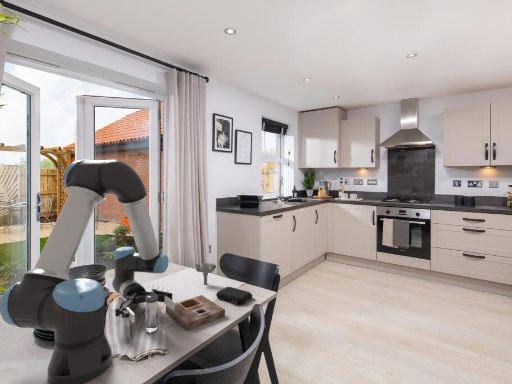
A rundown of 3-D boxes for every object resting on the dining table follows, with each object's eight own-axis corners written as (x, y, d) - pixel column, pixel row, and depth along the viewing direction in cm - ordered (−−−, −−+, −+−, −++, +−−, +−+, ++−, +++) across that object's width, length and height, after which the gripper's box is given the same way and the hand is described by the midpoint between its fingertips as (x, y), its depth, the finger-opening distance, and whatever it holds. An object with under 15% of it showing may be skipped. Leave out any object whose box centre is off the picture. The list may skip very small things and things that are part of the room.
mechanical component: (196, 281, 142) (196, 262, 142) (216, 283, 140) (216, 263, 140) (194, 284, 140) (194, 264, 139) (214, 286, 138) (214, 265, 137)
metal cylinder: (148, 334, 95) (147, 299, 95) (143, 329, 98) (143, 295, 98) (159, 330, 98) (159, 296, 97) (155, 325, 101) (154, 292, 100)
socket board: (186, 330, 98) (186, 322, 98) (165, 312, 111) (165, 305, 111) (225, 315, 109) (225, 308, 109) (201, 300, 122) (201, 294, 121)
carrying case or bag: (212, 299, 124) (240, 308, 116) (212, 292, 123) (240, 301, 116) (227, 291, 133) (254, 298, 125) (227, 284, 133) (254, 292, 125)
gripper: (163, 293, 121) (187, 311, 105) (97, 311, 105) (115, 336, 89) (163, 275, 121) (187, 291, 105) (97, 291, 104) (114, 312, 88)
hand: (154, 312), depth 97 cm, fingers open, 13 cm apart
